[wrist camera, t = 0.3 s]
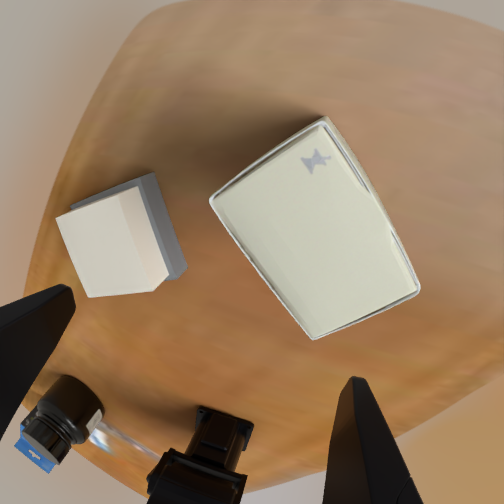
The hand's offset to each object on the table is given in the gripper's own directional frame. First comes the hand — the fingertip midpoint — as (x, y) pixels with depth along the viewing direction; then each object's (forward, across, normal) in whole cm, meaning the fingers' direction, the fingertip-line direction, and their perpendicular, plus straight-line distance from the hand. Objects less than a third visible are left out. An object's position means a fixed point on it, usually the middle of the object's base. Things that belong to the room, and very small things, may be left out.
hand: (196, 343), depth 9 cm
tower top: (+12, +11, +6) cm, 18 cm away
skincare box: (+15, -3, -2) cm, 15 cm away
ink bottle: (+12, +22, +36) cm, 44 cm away
